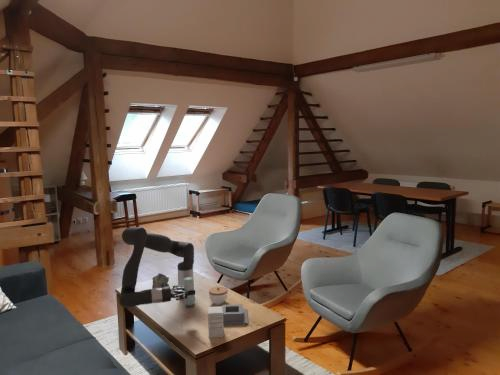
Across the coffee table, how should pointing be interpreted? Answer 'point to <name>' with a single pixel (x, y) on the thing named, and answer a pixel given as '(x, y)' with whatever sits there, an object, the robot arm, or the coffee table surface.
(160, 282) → the mineral rock
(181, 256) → the robot arm
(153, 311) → the coffee table surface
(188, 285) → the peg
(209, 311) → the supplement box
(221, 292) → the lidded jar
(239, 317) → the socket block
